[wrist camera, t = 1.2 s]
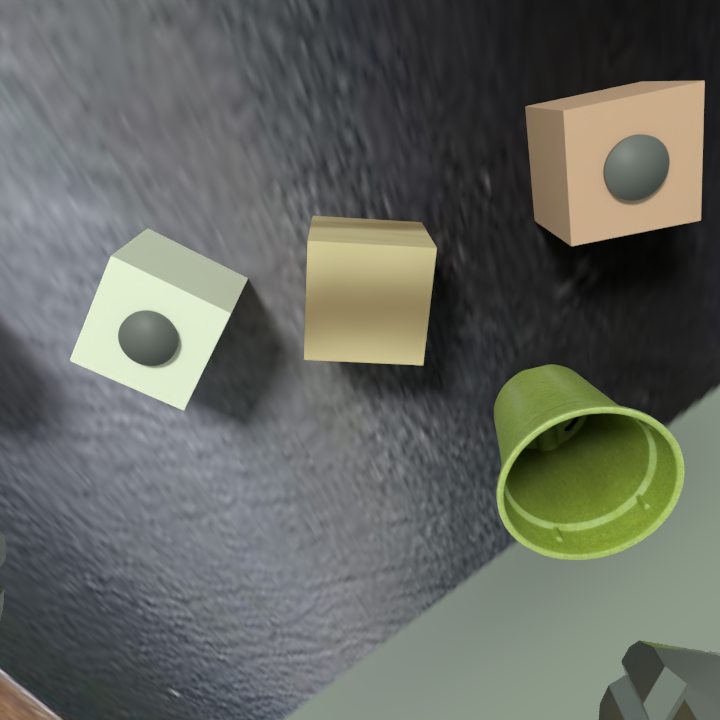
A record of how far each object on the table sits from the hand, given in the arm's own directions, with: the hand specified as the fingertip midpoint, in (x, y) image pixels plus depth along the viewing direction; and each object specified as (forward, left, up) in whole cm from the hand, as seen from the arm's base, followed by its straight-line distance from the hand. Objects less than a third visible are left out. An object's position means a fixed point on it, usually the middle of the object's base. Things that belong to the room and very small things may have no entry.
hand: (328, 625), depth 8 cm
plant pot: (+9, +15, -29) cm, 33 cm away
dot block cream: (+7, -8, -28) cm, 30 cm away
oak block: (+3, +2, -28) cm, 29 cm away
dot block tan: (-6, +12, -28) cm, 32 cm away
